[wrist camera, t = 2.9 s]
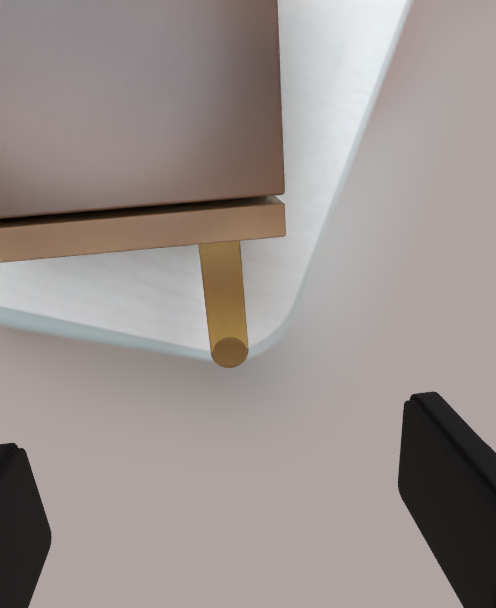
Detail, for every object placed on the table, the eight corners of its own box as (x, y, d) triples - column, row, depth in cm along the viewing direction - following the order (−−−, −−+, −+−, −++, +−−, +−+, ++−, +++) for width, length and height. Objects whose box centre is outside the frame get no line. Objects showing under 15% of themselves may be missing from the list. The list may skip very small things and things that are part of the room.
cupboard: (249, 170, 22) (285, 194, 12) (-23, 192, 21) (-220, 237, 11) (235, -44, 19) (268, -245, 9) (-88, -28, 18) (-441, -230, 8)
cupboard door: (257, 288, 24) (292, 385, 15) (11, 313, 23) (-122, 432, 14) (250, 175, 22) (284, 203, 12) (-23, 197, 21) (-210, 245, 12)
